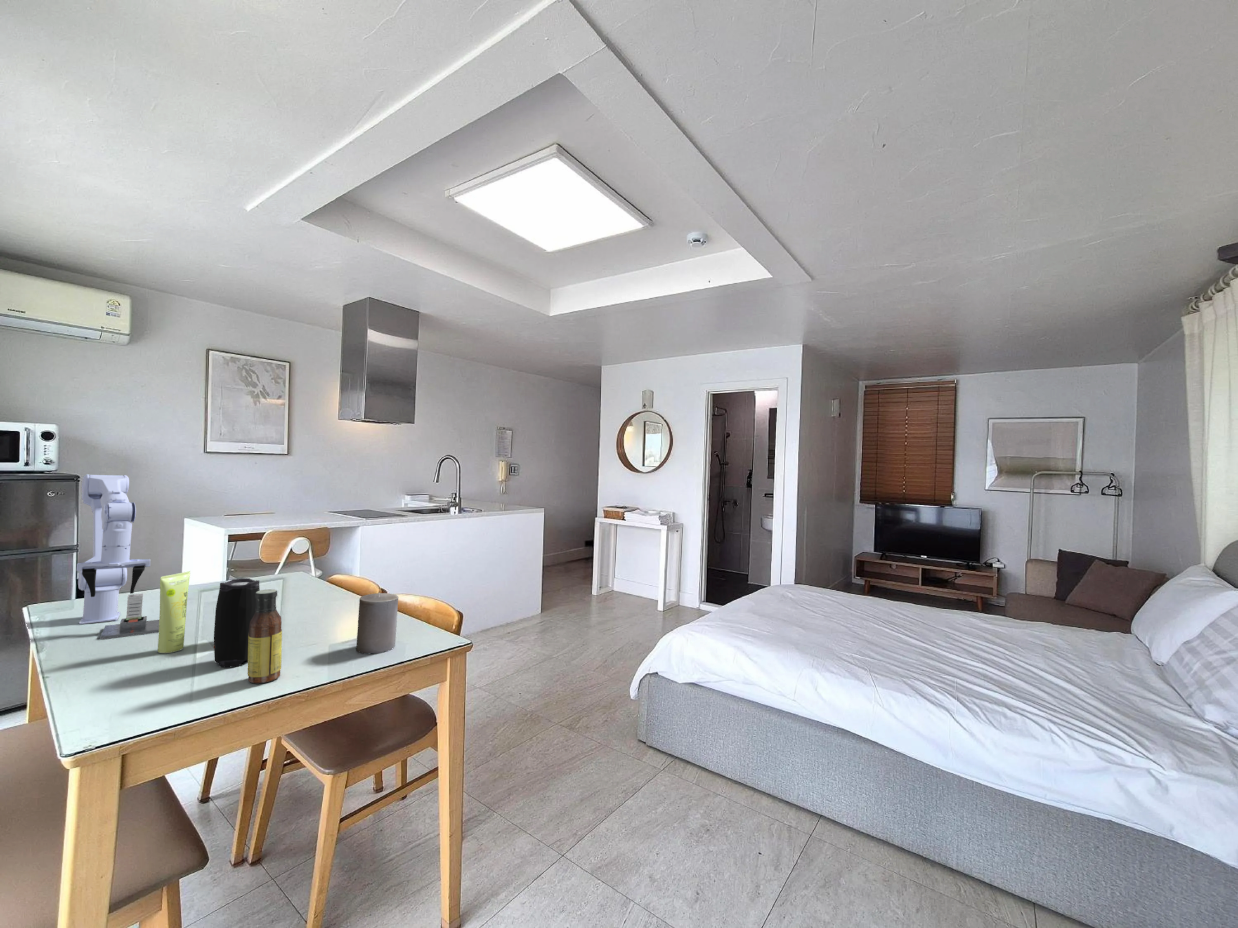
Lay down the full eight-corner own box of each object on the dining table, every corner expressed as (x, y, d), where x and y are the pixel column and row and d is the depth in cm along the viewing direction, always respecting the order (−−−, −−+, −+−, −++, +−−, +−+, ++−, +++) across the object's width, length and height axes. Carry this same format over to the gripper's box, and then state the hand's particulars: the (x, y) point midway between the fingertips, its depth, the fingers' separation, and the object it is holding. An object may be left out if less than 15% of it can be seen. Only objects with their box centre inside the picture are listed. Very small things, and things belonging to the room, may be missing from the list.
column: (126, 617, 143) (128, 594, 143) (141, 616, 145) (143, 593, 145) (125, 620, 140) (127, 597, 140) (141, 618, 142) (142, 595, 142)
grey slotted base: (105, 628, 143) (106, 615, 143) (162, 621, 151) (163, 610, 151) (100, 639, 134) (101, 626, 134) (161, 631, 142) (162, 619, 142)
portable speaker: (209, 671, 116) (214, 586, 117) (215, 658, 124) (220, 578, 125) (255, 665, 121) (259, 583, 121) (258, 653, 129) (262, 576, 129)
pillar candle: (347, 649, 134) (351, 592, 134) (380, 639, 143) (383, 586, 143) (371, 656, 130) (375, 598, 130) (403, 646, 138) (407, 591, 139)
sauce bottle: (275, 671, 118) (280, 586, 118) (284, 679, 114) (290, 590, 114) (241, 679, 112) (247, 590, 113) (250, 687, 108) (256, 594, 109)
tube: (181, 652, 127) (186, 574, 128) (154, 655, 124) (160, 576, 125) (185, 645, 132) (190, 570, 132) (159, 648, 129) (164, 572, 130)
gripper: (76, 549, 133) (72, 600, 133) (151, 546, 143) (148, 594, 143) (79, 545, 138) (76, 595, 138) (151, 542, 148) (148, 589, 148)
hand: (112, 594), depth 141 cm, fingers open, 7 cm apart
